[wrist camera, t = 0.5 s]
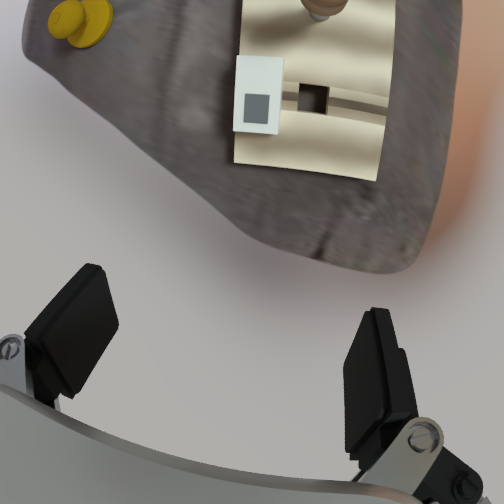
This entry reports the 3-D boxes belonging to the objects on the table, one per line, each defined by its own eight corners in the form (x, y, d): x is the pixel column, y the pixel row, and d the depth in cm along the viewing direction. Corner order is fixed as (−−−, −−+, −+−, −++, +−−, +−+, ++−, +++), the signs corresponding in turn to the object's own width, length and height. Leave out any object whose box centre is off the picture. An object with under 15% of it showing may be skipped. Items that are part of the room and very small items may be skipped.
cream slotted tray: (249, -15, 25) (244, -23, 22) (388, 3, 23) (395, -4, 20) (239, 156, 36) (233, 162, 33) (370, 173, 34) (375, 181, 32)
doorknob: (75, 1, 26) (118, -6, 26) (66, 49, 30) (107, 46, 30) (41, -4, 20) (85, -17, 19) (30, 50, 24) (72, 44, 24)
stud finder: (241, 57, 27) (236, 55, 25) (284, 59, 27) (283, 57, 25) (237, 128, 31) (232, 131, 29) (279, 131, 31) (277, 134, 29)
